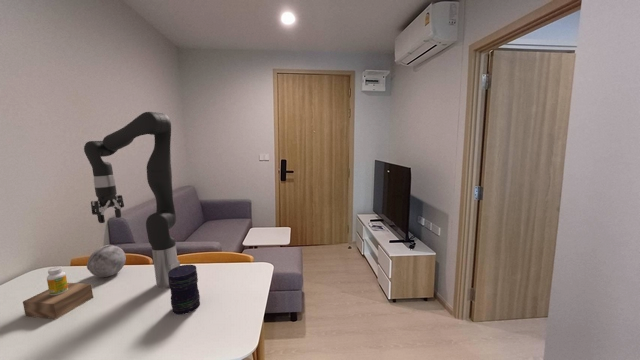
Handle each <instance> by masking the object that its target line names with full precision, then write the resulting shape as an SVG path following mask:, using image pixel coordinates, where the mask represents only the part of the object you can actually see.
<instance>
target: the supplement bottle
mask: <svg viewBox="0 0 640 360" xmlns="http://www.w3.org/2000/svg"><path fill="white" fill-rule="evenodd" d="M47 274H48V275H47V276H46V282H47V287H48V289H49V293H50V295H59V294H62V293H64V292H66V291H67V290H68V284H67V283H68V279H67V274H66V272H65V271H63V267H62V266H54V267H52V268H49V269H48V270H47Z"/></svg>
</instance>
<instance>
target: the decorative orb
mask: <svg viewBox="0 0 640 360" xmlns="http://www.w3.org/2000/svg"><path fill="white" fill-rule="evenodd" d="M126 257H127V256H126V253H125V251H124V250H123V249H122V248H121V247H119V246H117V245H114V244H107V245H106V244H105V245H103V246H101V247H98V248H97V249H96V250H95V251H93V253H91V254H90V256H89V257H88V259H87V262H86V269H87V270H88V271H89V272H90V274H92V275H93V276H95V277H99V278H108V277H111V276H114V275H116V274H118V272H120V271H121V270H122V269H123V267H124V266H125V264H126V261H127V260H126Z"/></svg>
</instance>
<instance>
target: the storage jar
mask: <svg viewBox="0 0 640 360" xmlns="http://www.w3.org/2000/svg"><path fill="white" fill-rule="evenodd" d="M197 271H198V270H197V266H196V265H195V264H183V265H180V266H178V267H175V268H173V269H171V270H170V271H169V272H168V279H169V280H168V282H169V287H168V288H169V289H170V295H171V296H170V305H171V308H172V309H171V311H172V313H173V314H174V315H175V316H176V315H178V316H182V315H187V314H191V313H192V312H195V311H196V310H198V309H199V308H200V306H201V299H200V298H201V296H200V290H199V286H198V281H199V280H198V279H199V278H198V272H197Z"/></svg>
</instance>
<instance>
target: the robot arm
mask: <svg viewBox="0 0 640 360" xmlns="http://www.w3.org/2000/svg"><path fill="white" fill-rule="evenodd" d="M171 122H172V121H171V118H170V117H169V116H168V115H167V114H166V113H163V112H162V113H161V112H156V111H155V112H154V111H145V112H142V113H141V114H139V115H137V117H135V118H134V119H133V120H132V121H130V122H129V123H128V124H126V125H125V126H123V127H122V128H120V129H117V130H116V131H114V132H111V133H110V134H107V135H106V136H104V138H103V139H102V140H90V141H87V142H85V144H84V146H83V151H84V152H83V153H84V155H85V156H86V158H87V160H88V162H89V164H90V166H91V168H92V175H93V187H94V190H95V196H96V198H97V200H91V201H90V208H91V214H92V215H94V216H95V215H96V216H97V222H98V223H99V224H105V222H106V220H105V211H107V209H109V208H111V207H112V208H113V209H114V215H115V218H117V219H118V218H122V210H121V209H122V208H124V207H125V204H124V199H123V195H122V194H119V195H117V187H116V179H115V176H114V172H113V166H112V164H111V162H109V161H104V160H103V159H102V158H104V157H109V156H112V155H114V154H115V153H116V152H118V150H121V149H123V148H126V147H127V146H129V145H130V144H132V143H133V141H134V140H135V139H136V138H138V137H141V136H144V135H151V136H154V146H153V149H152V152H151V154H150V156H149V158H148V161H147V164H146V179H147V184H148V186H149V188H150V190H151V192H152V194H153V196H154V198H155V202H156V203H155V204H156V210H155V212H153V213H151V214H150V215H148V217H146V221H145V227H146V228H145V229H146V235H147V240H148V243H149V245H150V246H151V252H152V260H153V267H154V275H155V276H154V277H155V282H156V283H155V284H156V287H157V288H158V289H166V288H169V282H168V280H169V279H168V272H169V271H170V270H171V269H173V268H175V267H178V266H181V261H180V260H178V255H177V253H178V252H177V243H176V239H175V238H174V237H172V236H171V235H170V234H171V233H170V231H169V230H170V229H171V228H174V226H175V224H176V221H177V215H176V211H175V205H174V197H173V196H174V194H173V179H172V178H173V177H172V176H173V174H172V172H173V171H172V161H171V160H172V159H171V157H172V155H171V139H172V138H171V137H172V123H171Z"/></svg>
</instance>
